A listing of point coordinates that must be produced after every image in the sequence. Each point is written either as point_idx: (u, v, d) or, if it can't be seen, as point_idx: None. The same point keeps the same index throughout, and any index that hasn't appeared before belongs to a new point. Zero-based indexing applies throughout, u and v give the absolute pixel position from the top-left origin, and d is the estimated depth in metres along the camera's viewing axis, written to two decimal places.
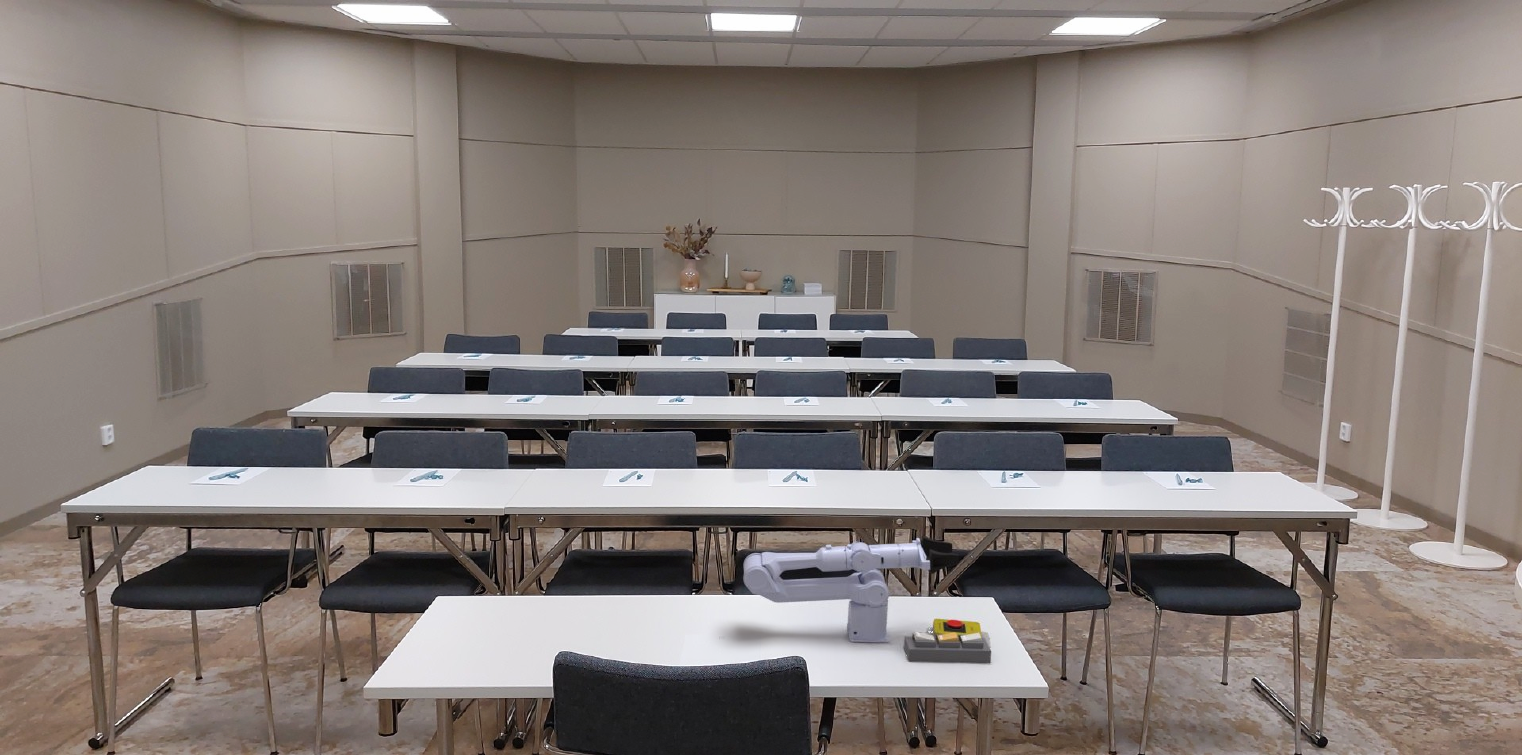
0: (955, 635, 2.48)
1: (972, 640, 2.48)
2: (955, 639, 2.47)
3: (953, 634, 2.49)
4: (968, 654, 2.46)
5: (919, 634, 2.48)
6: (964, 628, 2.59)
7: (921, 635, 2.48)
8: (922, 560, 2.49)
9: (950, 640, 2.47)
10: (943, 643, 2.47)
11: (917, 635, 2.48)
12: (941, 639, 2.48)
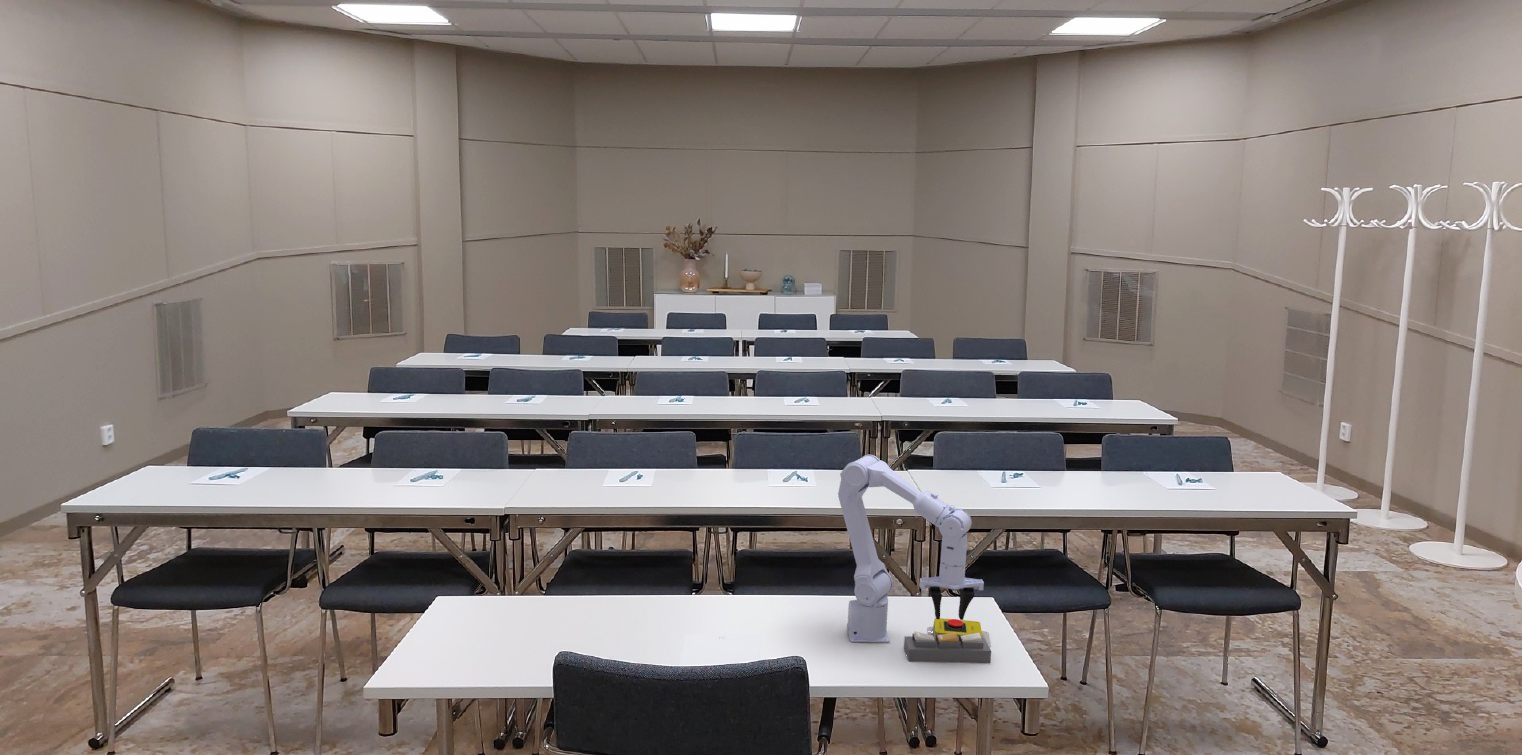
0: (955, 635, 2.48)
1: (972, 640, 2.48)
2: (955, 639, 2.47)
3: (953, 634, 2.49)
4: (968, 654, 2.46)
5: (919, 634, 2.48)
6: (965, 627, 2.59)
7: (921, 635, 2.48)
8: (924, 582, 2.45)
9: (950, 640, 2.47)
10: (943, 643, 2.47)
11: (917, 635, 2.48)
12: (941, 639, 2.48)
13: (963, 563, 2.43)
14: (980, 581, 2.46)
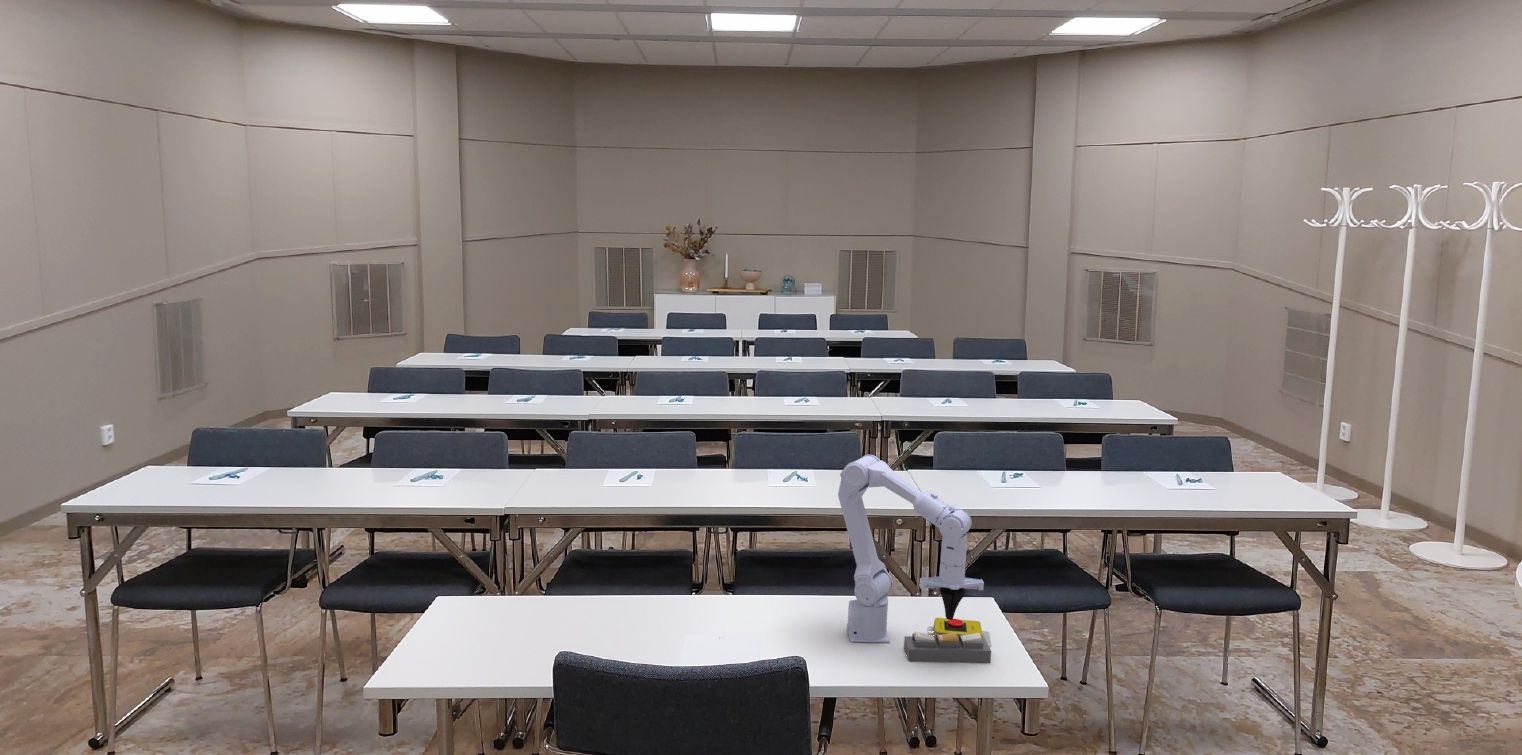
0: (955, 635, 2.48)
1: (972, 640, 2.48)
2: (955, 639, 2.47)
3: (953, 634, 2.49)
4: (968, 654, 2.46)
5: (919, 634, 2.48)
6: (965, 627, 2.59)
7: (921, 635, 2.48)
8: (924, 582, 2.45)
9: (950, 640, 2.47)
10: (943, 643, 2.47)
11: (917, 635, 2.48)
12: (941, 639, 2.48)
13: (963, 563, 2.43)
14: (980, 581, 2.46)
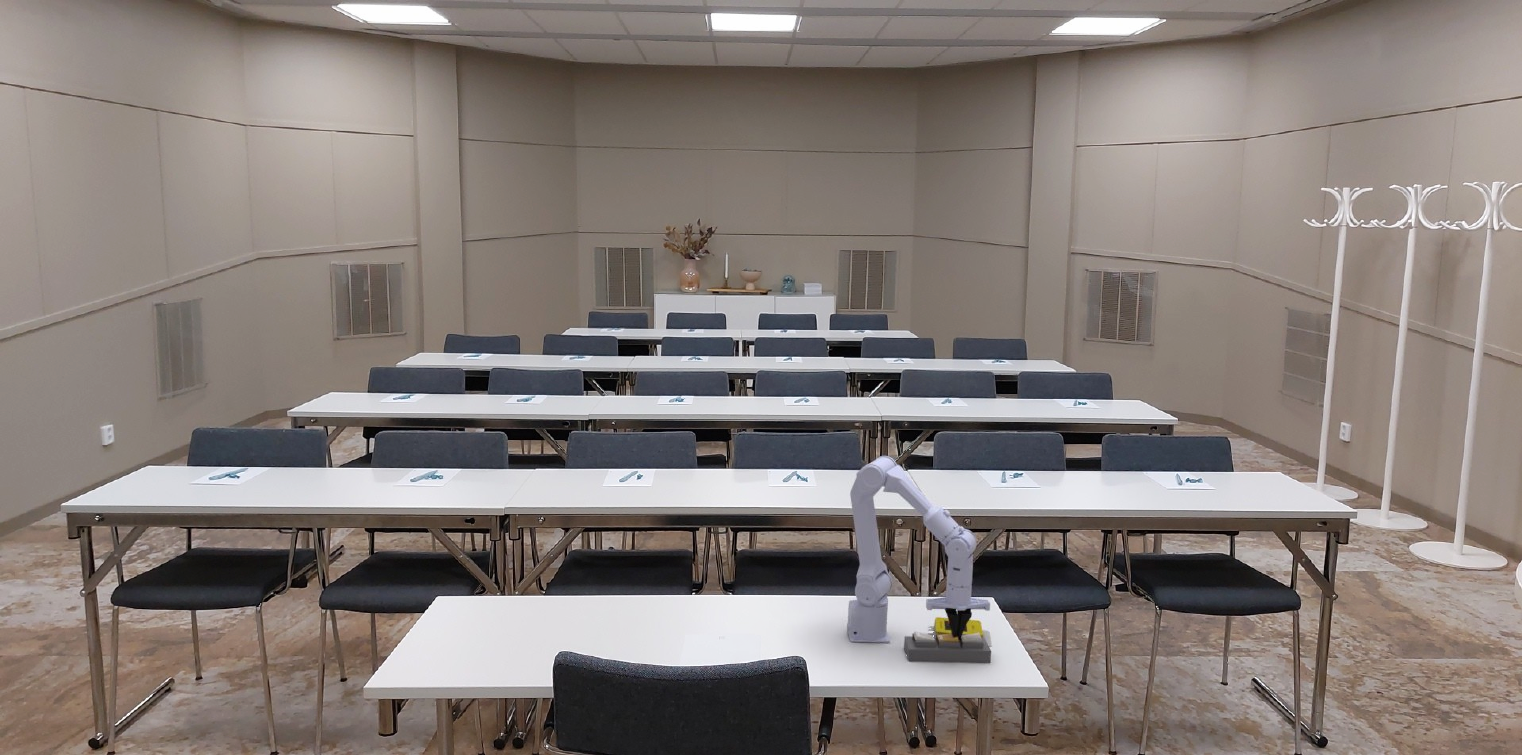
0: None
1: (972, 640, 2.48)
2: (955, 639, 2.47)
3: None
4: (968, 654, 2.46)
5: (919, 634, 2.48)
6: (965, 627, 2.60)
7: (921, 635, 2.48)
8: (931, 603, 2.46)
9: (950, 640, 2.47)
10: (943, 643, 2.47)
11: (917, 635, 2.48)
12: (941, 639, 2.48)
13: (969, 584, 2.44)
14: (986, 601, 2.47)
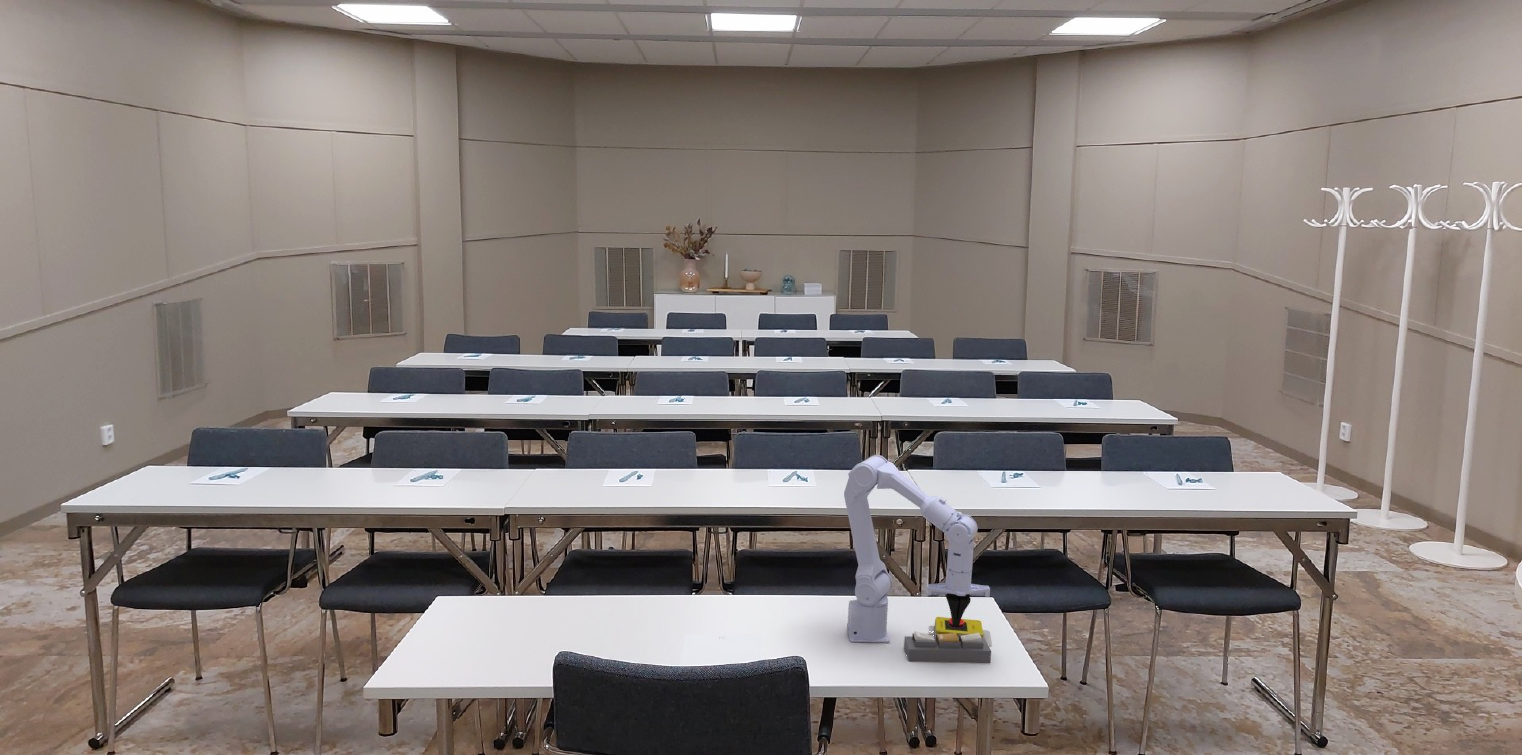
0: (955, 636, 2.48)
1: (972, 640, 2.48)
2: (955, 640, 2.47)
3: (953, 634, 2.49)
4: (968, 654, 2.46)
5: (919, 634, 2.48)
6: (966, 626, 2.60)
7: (921, 635, 2.48)
8: (931, 588, 2.45)
9: (950, 640, 2.47)
10: (943, 643, 2.47)
11: (917, 635, 2.48)
12: (941, 638, 2.48)
13: (970, 569, 2.44)
14: (986, 587, 2.47)
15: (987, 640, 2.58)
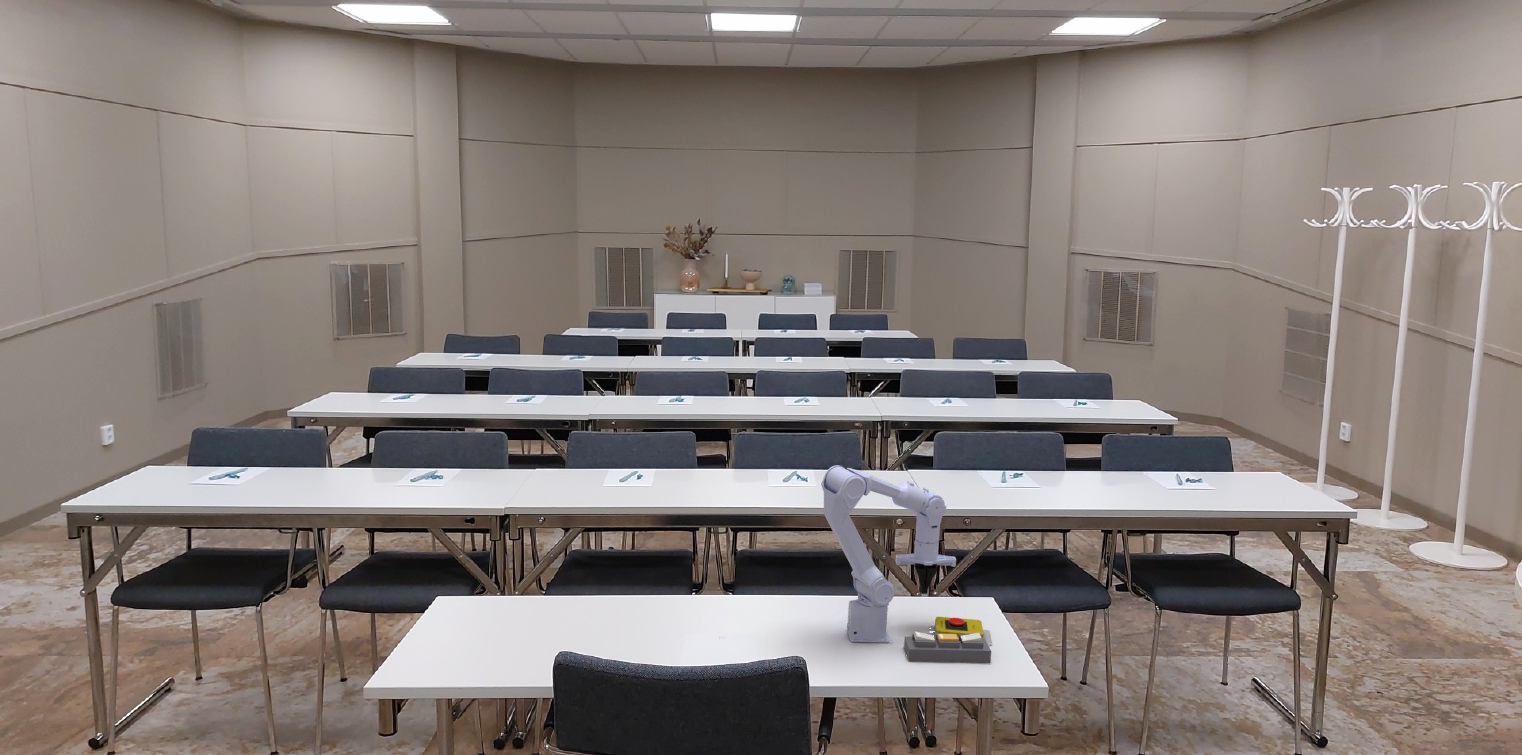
0: (956, 636, 2.48)
1: (972, 640, 2.48)
2: (955, 641, 2.47)
3: (953, 635, 2.49)
4: (968, 654, 2.46)
5: (919, 634, 2.48)
6: (966, 626, 2.60)
7: (921, 635, 2.48)
8: (900, 558, 2.61)
9: (950, 640, 2.47)
10: (943, 643, 2.47)
11: (917, 635, 2.48)
12: (941, 638, 2.48)
13: None
14: (953, 558, 2.62)
15: (987, 640, 2.58)
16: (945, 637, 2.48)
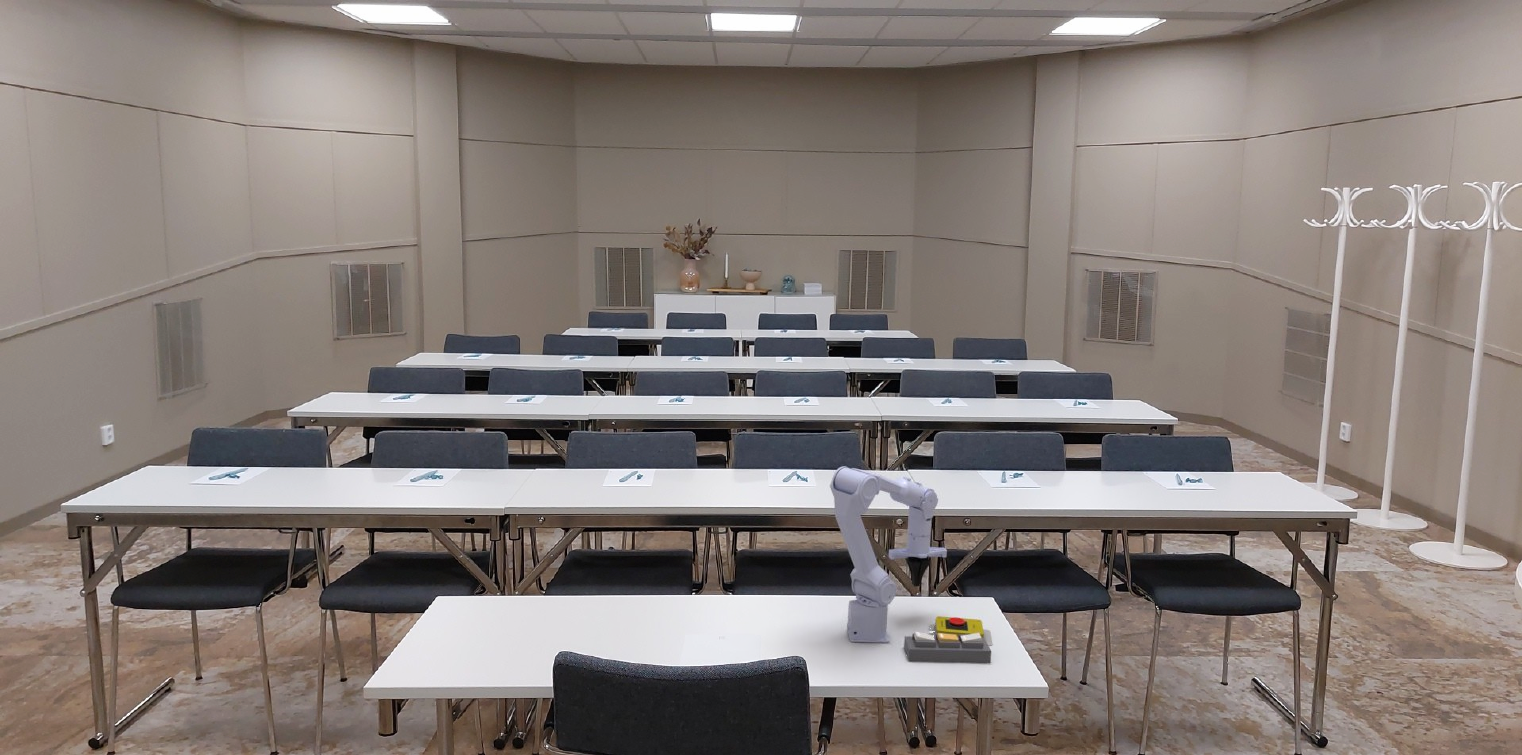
0: (956, 637, 2.48)
1: (972, 640, 2.48)
2: (955, 641, 2.47)
3: (953, 635, 2.49)
4: (968, 654, 2.46)
5: (919, 634, 2.48)
6: (966, 626, 2.60)
7: (921, 635, 2.48)
8: (894, 553, 2.63)
9: (950, 640, 2.47)
10: (943, 643, 2.47)
11: (917, 635, 2.48)
12: (942, 637, 2.48)
13: None
14: (943, 549, 2.67)
15: (987, 639, 2.59)
16: (945, 637, 2.48)
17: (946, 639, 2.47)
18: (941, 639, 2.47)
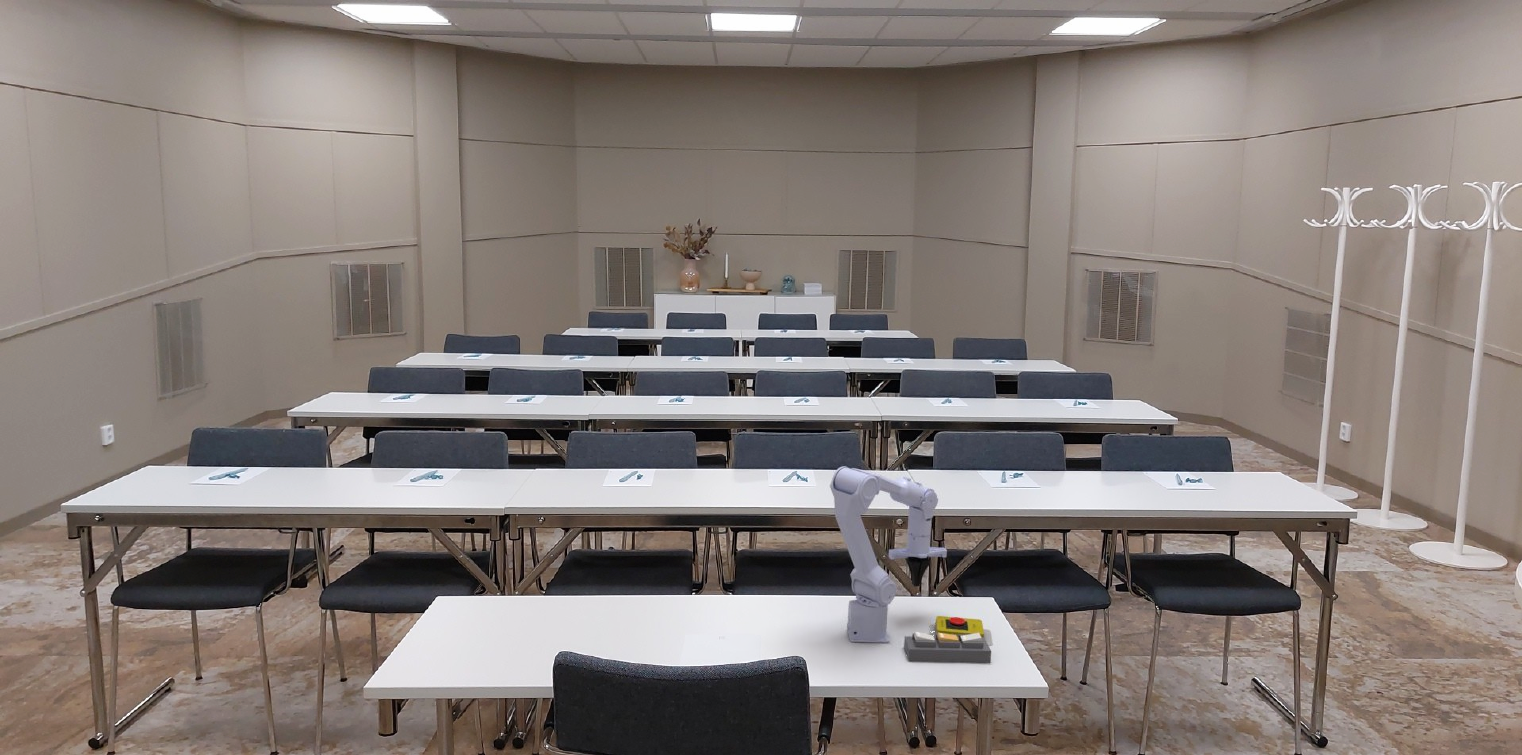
0: (956, 637, 2.49)
1: (972, 640, 2.48)
2: (955, 641, 2.48)
3: (953, 636, 2.49)
4: (968, 654, 2.46)
5: (919, 634, 2.48)
6: (966, 625, 2.60)
7: (921, 635, 2.48)
8: (894, 553, 2.63)
9: (950, 641, 2.47)
10: (943, 643, 2.47)
11: (917, 635, 2.48)
12: (942, 637, 2.48)
13: None
14: (943, 549, 2.67)
15: (988, 639, 2.59)
16: (945, 637, 2.48)
17: (946, 639, 2.47)
18: (941, 639, 2.47)
